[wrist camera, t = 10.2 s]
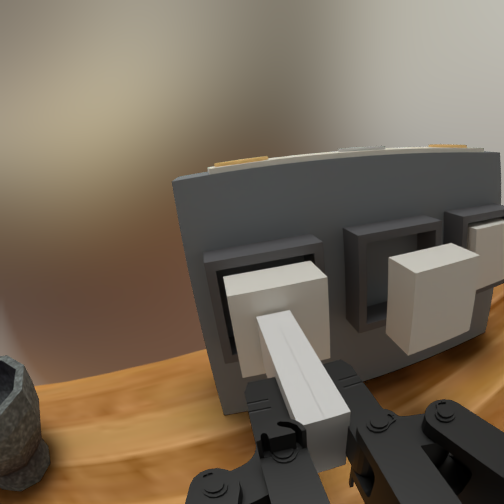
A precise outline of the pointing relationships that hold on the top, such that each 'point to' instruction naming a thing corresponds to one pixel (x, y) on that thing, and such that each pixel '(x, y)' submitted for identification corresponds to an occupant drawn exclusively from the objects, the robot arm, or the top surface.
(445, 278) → the button middle
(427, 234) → the button panel
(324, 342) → the button
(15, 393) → the mortar and pestle
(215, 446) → the top surface
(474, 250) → the button
